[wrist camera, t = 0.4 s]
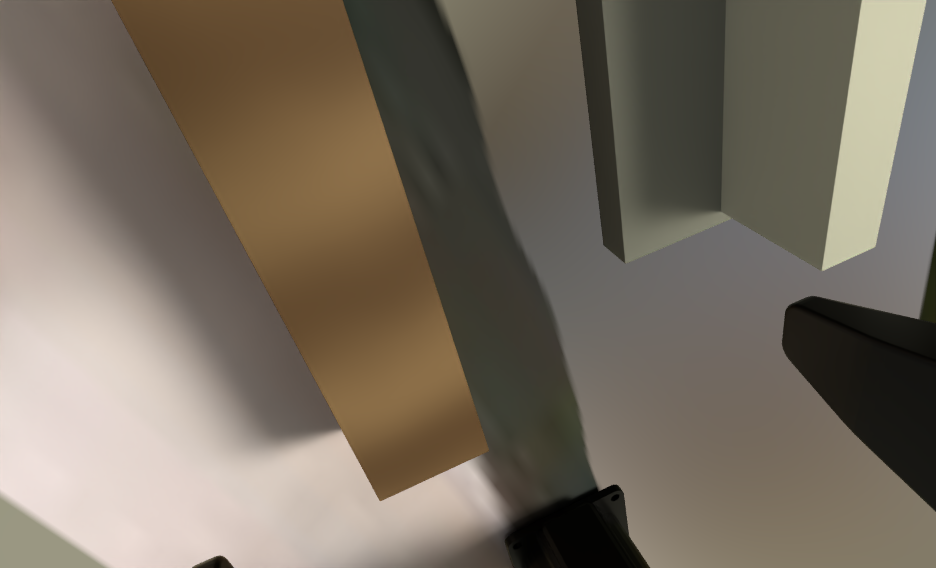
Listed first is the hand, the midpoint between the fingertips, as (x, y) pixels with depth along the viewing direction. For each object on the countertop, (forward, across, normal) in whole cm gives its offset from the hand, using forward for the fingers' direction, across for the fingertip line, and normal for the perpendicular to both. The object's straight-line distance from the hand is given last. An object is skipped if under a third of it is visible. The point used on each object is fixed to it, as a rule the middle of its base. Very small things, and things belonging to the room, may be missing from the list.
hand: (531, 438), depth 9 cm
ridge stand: (+12, -12, 0) cm, 17 cm away
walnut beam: (+12, +2, +1) cm, 12 cm away
